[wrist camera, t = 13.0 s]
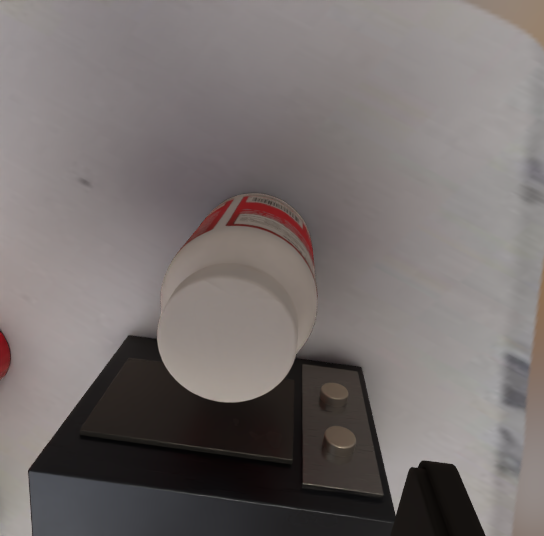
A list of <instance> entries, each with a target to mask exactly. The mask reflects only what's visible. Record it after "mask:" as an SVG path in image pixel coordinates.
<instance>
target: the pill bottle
mask: <svg viewBox="0 0 544 536" xmlns="http://www.w3.org/2000/svg"><path fill="white" fill-rule="evenodd" d="M317 297H318V295H317V287H316V277H315V267H314V258H313V248H312V242H311V237H310V234H309V231H308V228H307V226H306V224H305V222H304V220H303V219H302V217H301V216H300V215H299V214H298V213H297V211H295V210H294V209H293V208H292V207H291V206H290V205H289V204H287V203H286V202H284V201H282V200H280V199H278V198H276V197H273V196H270V195H266V194H259V193H249V194H242V195H238V196H235V197H232V198H230V199H228V200H226V201H224V202H222V203H221V204H220V205H218V206H217V207H216V208H215V209H214V210H213V211H212V212H210V214H209V215H208V216H207V217H206V218H205V220H204V221H203V222H202V223H201V225H200V226H199V227H198V229H197V230H196V231H195V232H194V233H193V235H192V236H191V237H190V238H189V239H188V241H187V242H186V243H185V244H184V245H183V247H182V248H181V249H180V250H179V252H178V253H177V254H176V255H175V257H174V259H173V260H172V262H171V264H170V265H169V267H168V269H167V272H166V274H165V277H164V280H163V283H162V288H161V311H162V313H161V316H160V319H159V323H158V328H157V343H158V349H159V353H160V355H161V358H162V361H163V363H164V365H165V367H166V368H167V370H168V371H169V373H170V374H171V375H172V376H173V377H174V378H175V380H176V381H177V382H179V383H180V384H181V385H182V386H183V387H185V388H186V389H188V390H189V391H190V392H192V393H194V394H196V395H198V396H201V397H203V398H206V399H209V400H214V401H218V402H242V401H247V400H251V399H254V398H257V397H259V396H262V395H264V394H266V393H268V392H269V391H271V390H272V389H273V388H275V387H276V386H277V385H278V384H279V383H280V382H281V381H282V380H283V379H284V378H285V377H286V375H287V374H288V372H289V371H290V369H291V367H292V365H293V363H294V360H295V357H296V354H297V353H298V352H299V350H300V349H301V348H302V347H303V345H304V344H305V343H306V341H307V339H308V338H309V336H310V334H311V331H312V329H313V326H314V324H315V319H316V314H317Z"/></svg>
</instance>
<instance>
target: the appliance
mask: <svg viewBox="0 0 544 536" xmlns="http://www.w3.org/2000/svg"><path fill="white" fill-rule="evenodd" d="M28 475H29V490H30V505H31V521H32V536H390V535H391V532H392V528H393V524H394V521H395V517H396V516H395V511H394V507H393V503H392V498H391V494H390V490H389V485H388V481H387V476H386V472H385V468H384V463H383V459H382V455H381V450H380V446H379V441H378V437H377V433H376V428H375V424H374V420H373V415H372V411H371V406H370V402H369V398H368V393H367V389H366V385H365V380H364V376H363V371H362V368H361V367H356V366H349V365H341V364H334V363H327V362H319V361H312V360H305V359H298V358H295V360H294V363H293V365H292V367H291V369H290V371H289V372H288V374H287V375H286V377H285V378H284V379H283V380H282V381H281V382H280V383H279V384H278V385H277V386H276V387H275V388H273V389H272V390H271V391H269V392H268V393H266V394H264V395H262V396H259V397H257V398H254V399H251V400H247V401H242V402H218V401H214V400H209V399H206V398H203V397H201V396H198V395H196V394H194V393H192V392H190V391H189V390H188V389H186V388H185V387H183V386H182V385H181V384H180V383H179V382H177V381H176V380H175V378H174V377H173V376H172V375H171V374H170V373H169V371H168V370H167V368H166V367H165V365H164V363H163V361H162V358H161V355H160V353H159V349H158V343H157V339H151V338H144V337H137V336H128V337H127V338H126V339H125V341H124V342H123V344H122V345H121V346H120V348H119V349H118V350H117V352H116V353H115V354H114V356H113V357H112V358H111V360H110V361H109V362H108V364H107V365H106V366H105V368H104V369H103V370H102V372H101V373H100V374H99V376H98V377H97V378H96V380H95V381H94V382H93V384H92V385H91V386H90V388H89V389H88V390H87V392H86V393H85V394H84V396H83V397H82V398H81V400H80V401H79V403H78V404H77V405H76V407H75V408H74V409H73V411H72V412H71V413H70V415H69V416H68V417H67V419H66V420H65V421H64V423H63V424H62V425H61V427H60V428H59V429H58V431H57V432H56V433H55V435H54V436H53V437H52V439H51V440H50V441H49V443H48V444H47V445H46V447H45V448H44V449H43V451H42V452H41V453H40V455H39V456H38V458H37V459H36V460H35V462H34V463H33V464H32V466H31V467H30V468H29V470H28Z"/></svg>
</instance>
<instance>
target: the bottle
mask: <svg viewBox="0 0 544 536" xmlns="http://www.w3.org/2000/svg"><path fill="white" fill-rule="evenodd" d="M9 365H10V350H9V347H8V343H7V341H6V340H5V338H4V336H3V334H2V333H1V332H0V380H1V379H2V378H3V377H4V375H5V374H6V373H7V370H8V368H9Z"/></svg>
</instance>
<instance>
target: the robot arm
mask: <svg viewBox="0 0 544 536" xmlns="http://www.w3.org/2000/svg"><path fill="white" fill-rule="evenodd" d="M390 536H485V534H484V531H483V529H482V527H481V524H480V522H479V519H478V517H477V515H476V512H475V510H474V508H473V505H472V503H471V501H470V498H469V496H468V494H467V491H466V489H465V486H464V484H463V482H462V479H461V477H460V475H459V472H458V470H457V468H456V467H455V466H454V465H453V464H447V463H439V462H432V461H421V462H420V464H419V466H418V468H414V467H411V468H410V469H409V472H408V475H407V479H406V482H405V486H404V489H403V493H402V496H401V500H400V503H399V507H398V510H397V514H396V517H395V521H394V524H393V528H392V532H391V535H390Z"/></svg>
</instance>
